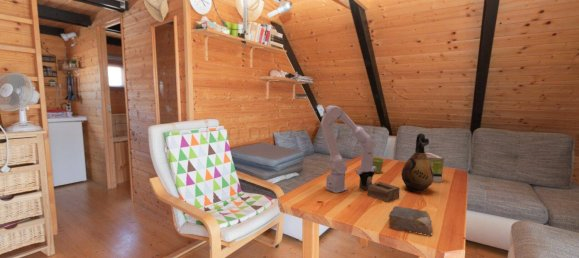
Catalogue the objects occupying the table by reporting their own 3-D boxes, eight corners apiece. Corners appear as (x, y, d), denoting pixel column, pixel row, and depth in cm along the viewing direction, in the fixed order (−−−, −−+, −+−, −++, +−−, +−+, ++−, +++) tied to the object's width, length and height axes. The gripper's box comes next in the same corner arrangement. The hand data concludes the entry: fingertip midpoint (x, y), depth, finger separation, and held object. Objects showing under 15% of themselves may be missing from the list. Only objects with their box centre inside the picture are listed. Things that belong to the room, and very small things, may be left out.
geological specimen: (391, 204, 113) (432, 210, 106) (391, 219, 113) (432, 225, 106) (387, 214, 103) (433, 220, 96) (387, 229, 104) (432, 237, 97)
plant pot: (380, 175, 172) (381, 161, 171) (366, 172, 177) (366, 159, 176) (385, 172, 179) (386, 159, 178) (371, 169, 185) (372, 157, 184)
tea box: (442, 182, 159) (444, 157, 157) (424, 182, 159) (426, 157, 158) (429, 175, 174) (431, 152, 172) (413, 174, 174) (415, 151, 173)
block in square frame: (387, 202, 128) (387, 191, 127) (367, 195, 137) (368, 185, 136) (398, 197, 134) (399, 187, 134) (379, 191, 143) (380, 181, 142)
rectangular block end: (368, 190, 143) (369, 177, 142) (359, 187, 148) (360, 175, 147) (371, 189, 144) (372, 177, 144) (362, 186, 149) (363, 174, 148)
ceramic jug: (436, 196, 137) (441, 136, 133) (403, 193, 140) (408, 135, 136) (426, 185, 154) (431, 132, 150) (397, 183, 157) (401, 131, 153)
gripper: (364, 163, 137) (363, 190, 138) (381, 159, 145) (380, 184, 147) (353, 160, 142) (352, 186, 144) (370, 157, 151) (369, 181, 153)
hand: (365, 185), depth 146 cm, fingers closed on rectangular block end, 2 cm apart
